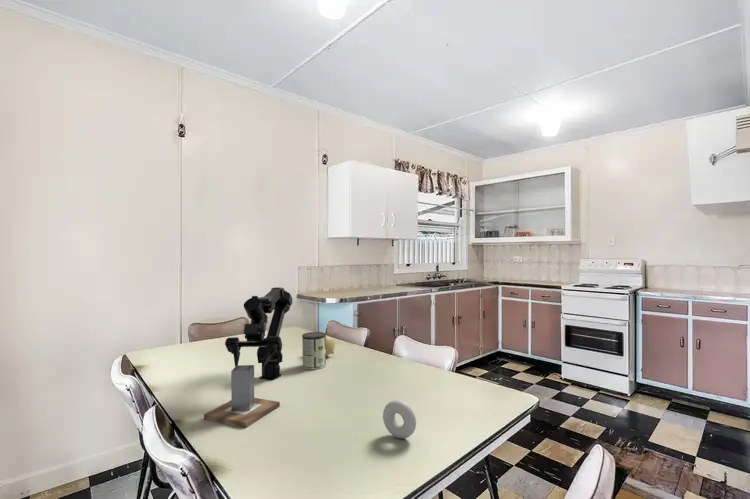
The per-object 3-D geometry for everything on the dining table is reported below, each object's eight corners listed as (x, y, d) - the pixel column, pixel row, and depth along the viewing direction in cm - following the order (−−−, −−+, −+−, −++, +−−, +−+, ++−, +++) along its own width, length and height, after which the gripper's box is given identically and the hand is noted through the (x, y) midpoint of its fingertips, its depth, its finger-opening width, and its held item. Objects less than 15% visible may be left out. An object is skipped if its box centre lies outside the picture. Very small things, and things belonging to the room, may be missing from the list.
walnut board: (203, 419, 115) (203, 413, 115) (240, 399, 130) (240, 395, 130) (246, 427, 109) (246, 422, 109) (279, 406, 124) (279, 401, 124)
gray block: (237, 404, 122) (236, 365, 122) (254, 403, 122) (254, 365, 122) (231, 411, 116) (231, 370, 116) (249, 410, 117) (249, 370, 117)
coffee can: (309, 361, 174) (309, 331, 174) (329, 363, 170) (329, 332, 171) (297, 368, 164) (297, 336, 164) (319, 370, 161) (318, 337, 161)
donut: (380, 435, 104) (380, 398, 104) (387, 430, 107) (387, 394, 107) (412, 445, 98) (412, 407, 98) (418, 440, 101) (418, 402, 101)
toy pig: (323, 352, 190) (323, 331, 191) (338, 356, 182) (338, 334, 182) (307, 356, 184) (307, 334, 184) (322, 361, 175) (322, 338, 175)
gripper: (226, 314, 132) (215, 354, 121) (280, 313, 133) (274, 353, 122) (233, 332, 140) (223, 371, 129) (284, 331, 141) (279, 370, 130)
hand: (249, 366), depth 127 cm, fingers open, 9 cm apart
